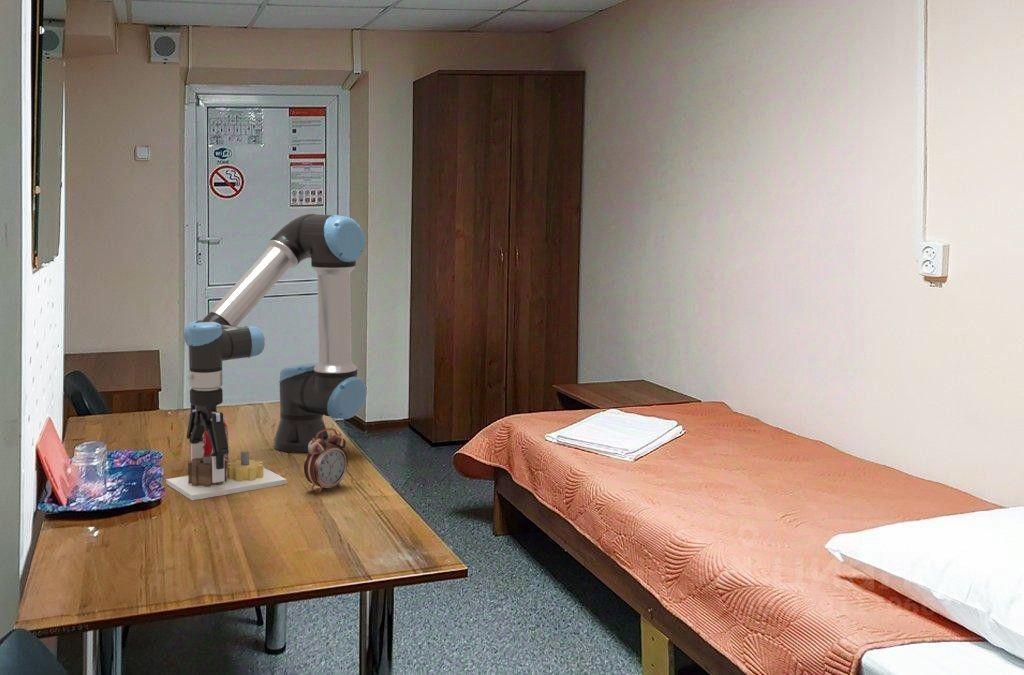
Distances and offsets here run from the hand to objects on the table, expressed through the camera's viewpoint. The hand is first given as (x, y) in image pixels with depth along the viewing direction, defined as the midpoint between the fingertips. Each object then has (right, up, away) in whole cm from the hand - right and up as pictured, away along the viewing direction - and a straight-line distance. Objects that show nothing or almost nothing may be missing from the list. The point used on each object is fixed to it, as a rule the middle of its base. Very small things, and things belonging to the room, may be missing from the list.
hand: (207, 475), depth 258 cm
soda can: (-4, 0, +19) cm, 19 cm away
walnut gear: (0, -1, 0) cm, 2 cm away
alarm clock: (+28, -4, +1) cm, 29 cm away
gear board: (+4, -3, +3) cm, 6 cm away
